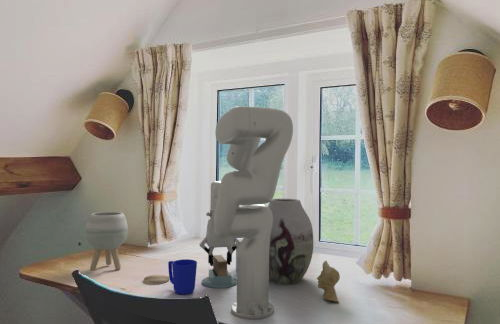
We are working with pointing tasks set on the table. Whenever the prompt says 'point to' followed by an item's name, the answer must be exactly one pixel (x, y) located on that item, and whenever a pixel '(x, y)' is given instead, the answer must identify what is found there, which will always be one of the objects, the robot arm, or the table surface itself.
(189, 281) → the mug
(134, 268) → the table surface
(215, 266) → the block
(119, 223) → the planter
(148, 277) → the cork lid
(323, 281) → the tan head bust
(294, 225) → the vase
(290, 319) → the table surface
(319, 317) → the table surface
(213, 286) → the teal candle holder
